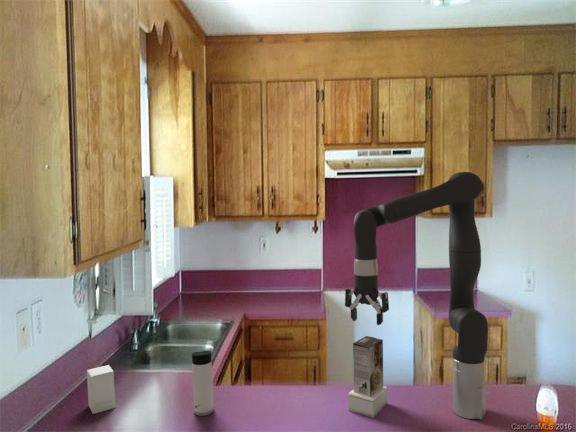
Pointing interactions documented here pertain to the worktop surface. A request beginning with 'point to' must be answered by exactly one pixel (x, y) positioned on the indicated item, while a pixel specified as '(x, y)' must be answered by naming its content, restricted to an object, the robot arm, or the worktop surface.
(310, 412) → the worktop surface
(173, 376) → the worktop surface
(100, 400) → the supplement box
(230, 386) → the worktop surface
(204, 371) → the travel mug
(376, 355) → the coffee box
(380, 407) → the white box
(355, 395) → the lid
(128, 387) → the worktop surface
